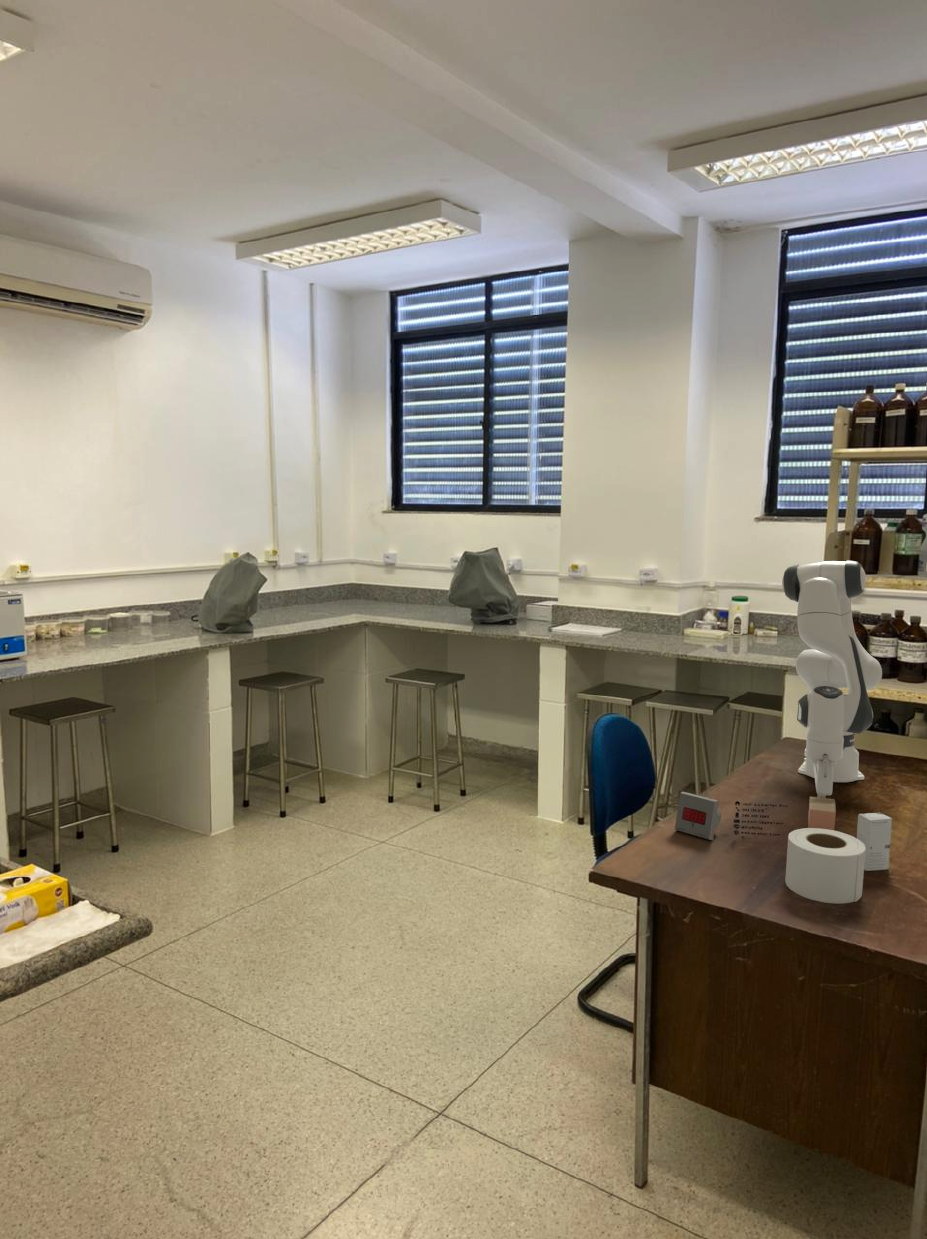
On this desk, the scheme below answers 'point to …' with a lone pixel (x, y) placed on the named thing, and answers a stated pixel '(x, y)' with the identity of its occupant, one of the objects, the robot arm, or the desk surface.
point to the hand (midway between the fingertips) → (821, 801)
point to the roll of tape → (825, 865)
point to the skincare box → (875, 839)
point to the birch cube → (821, 813)
